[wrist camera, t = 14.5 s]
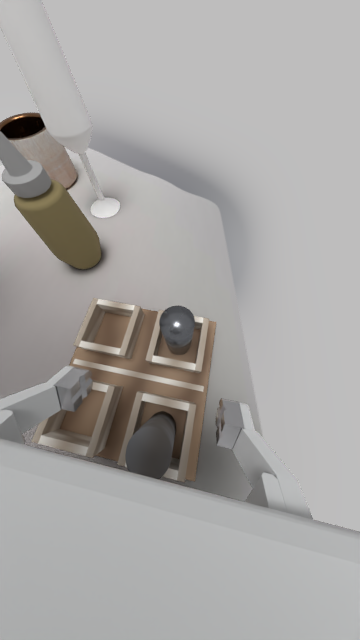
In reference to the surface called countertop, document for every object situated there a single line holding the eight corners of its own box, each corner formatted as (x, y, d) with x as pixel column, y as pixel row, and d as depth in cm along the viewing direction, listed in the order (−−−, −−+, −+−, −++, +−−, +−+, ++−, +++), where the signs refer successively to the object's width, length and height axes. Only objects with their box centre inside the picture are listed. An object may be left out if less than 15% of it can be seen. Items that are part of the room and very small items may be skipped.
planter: (52, 163, 45) (20, 108, 36) (87, 172, 43) (62, 117, 34) (24, 188, 41) (-20, 134, 32) (60, 199, 40) (24, 145, 31)
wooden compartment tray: (44, 437, 22) (-58, 475, 13) (99, 303, 29) (60, 264, 20) (194, 476, 21) (203, 553, 11) (214, 324, 28) (231, 292, 18)
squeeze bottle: (112, 243, 34) (45, 108, 18) (100, 277, 32) (6, 153, 15) (74, 240, 35) (-27, 105, 18) (59, 272, 32) (-78, 148, 15)
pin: (162, 339, 26) (152, 317, 17) (182, 327, 26) (181, 299, 18) (175, 359, 25) (171, 346, 16) (195, 346, 25) (202, 326, 17)
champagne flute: (93, 197, 40) (-22, -49, 17) (122, 197, 39) (42, -51, 17) (87, 217, 37) (-58, -37, 15) (117, 218, 37) (17, -39, 15)
